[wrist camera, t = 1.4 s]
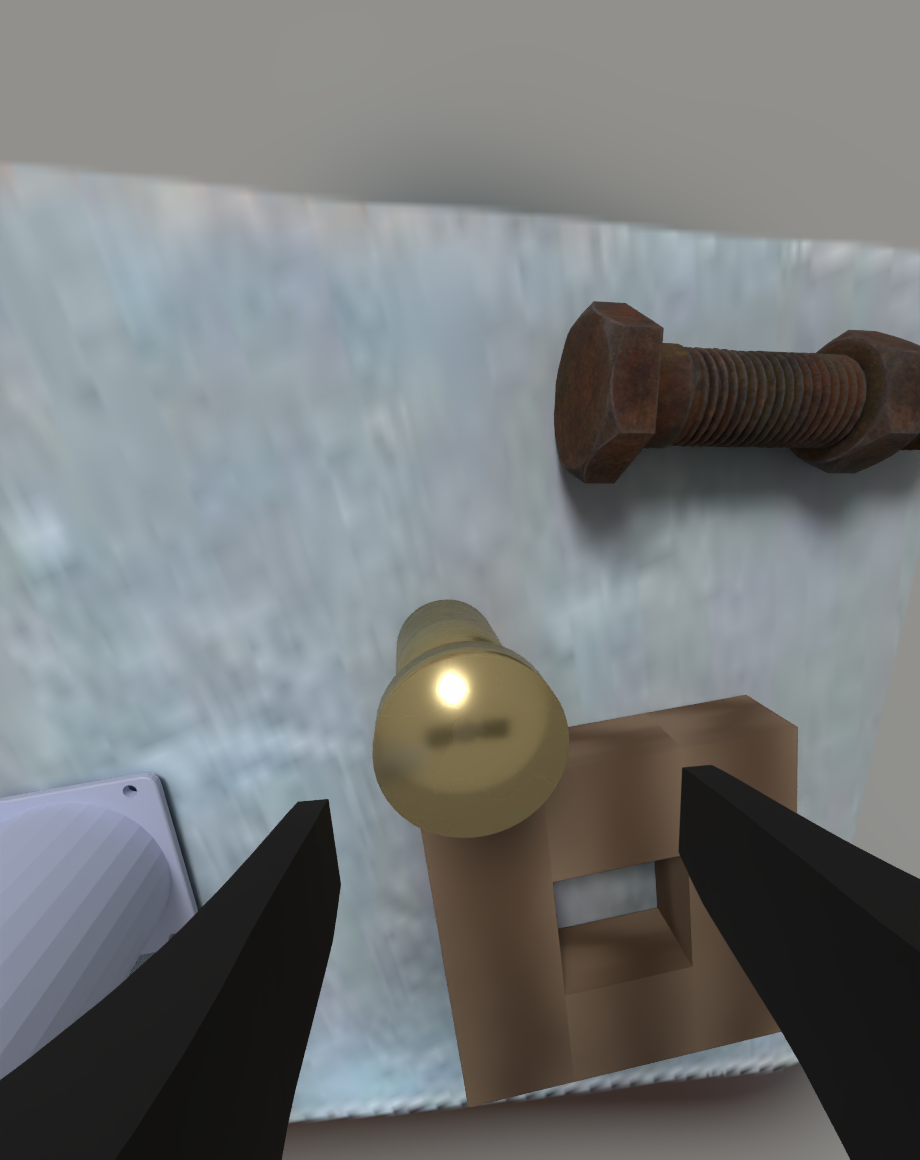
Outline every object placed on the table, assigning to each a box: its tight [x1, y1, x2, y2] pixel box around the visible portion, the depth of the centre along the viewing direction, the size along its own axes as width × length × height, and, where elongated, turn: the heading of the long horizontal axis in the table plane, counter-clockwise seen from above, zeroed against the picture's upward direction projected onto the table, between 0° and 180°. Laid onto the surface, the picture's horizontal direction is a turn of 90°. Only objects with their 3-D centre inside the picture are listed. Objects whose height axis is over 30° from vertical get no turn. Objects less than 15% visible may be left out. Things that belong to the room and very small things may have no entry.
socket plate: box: [421, 695, 798, 1107], centre depth 22 cm, size 15×15×3 cm
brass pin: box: [373, 600, 569, 838], centre depth 16 cm, size 5×5×8 cm
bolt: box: [554, 301, 920, 483], centre depth 18 cm, size 6×5×15 cm
